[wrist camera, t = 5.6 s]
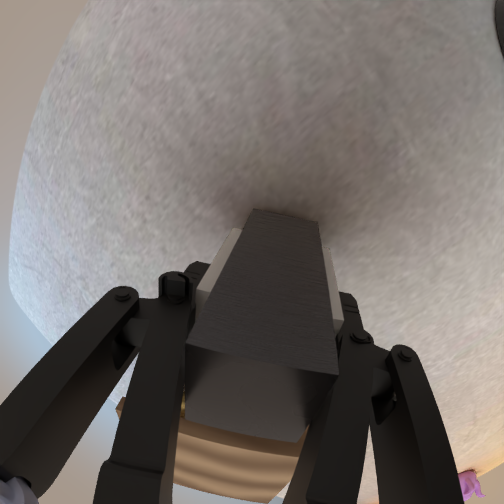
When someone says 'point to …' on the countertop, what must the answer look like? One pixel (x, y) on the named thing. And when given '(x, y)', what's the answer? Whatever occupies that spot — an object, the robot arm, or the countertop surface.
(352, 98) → the countertop surface
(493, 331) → the countertop surface
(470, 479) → the teapot
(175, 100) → the countertop surface
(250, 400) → the l-shaped hook tool
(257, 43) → the countertop surface
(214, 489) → the shelf
